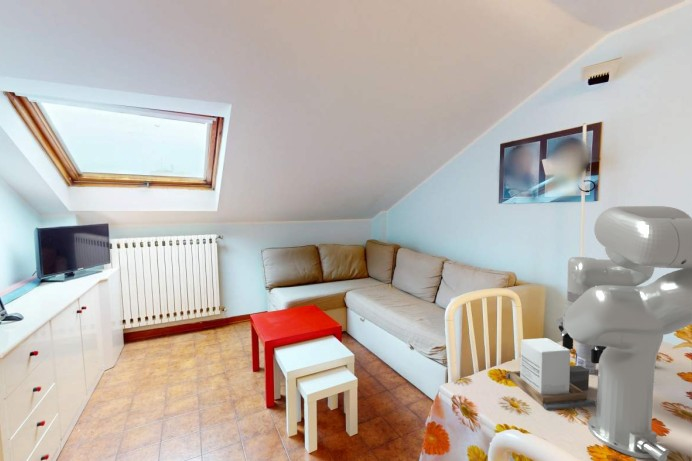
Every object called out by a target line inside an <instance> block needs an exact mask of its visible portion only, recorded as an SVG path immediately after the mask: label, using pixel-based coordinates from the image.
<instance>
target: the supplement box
mask: <svg viewBox="0 0 692 461" xmlns="http://www.w3.org/2000/svg"><path fill="white" fill-rule="evenodd" d="M519 365H520V369H519V371H520V378H521V379H523V380H524V381H525V382H526V383H528V384H529V385H530V386H532V387H533V388H534V389H535V390H537V391H538V392H539V393H541V394H542V395H543V396H544V395H556V394H568V393H569V377H570V366H571V349H567V348H565V347H563V346H562V345H561V344H559V343H557V342H555V341H553V340H552V339H550V338H547V337H543V338H541V337H540V338H524V339H521V340H520V364H519Z"/></svg>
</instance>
